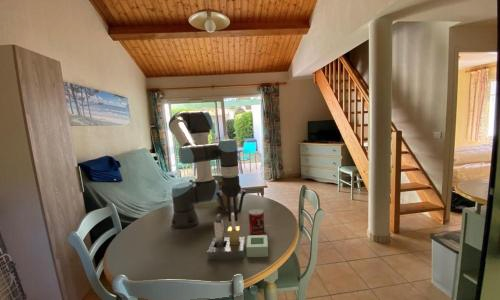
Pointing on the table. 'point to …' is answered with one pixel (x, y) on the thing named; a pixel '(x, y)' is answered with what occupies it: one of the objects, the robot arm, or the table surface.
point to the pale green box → (257, 246)
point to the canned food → (256, 221)
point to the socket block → (226, 250)
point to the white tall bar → (219, 231)
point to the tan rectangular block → (234, 236)
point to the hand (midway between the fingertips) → (233, 228)
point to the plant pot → (222, 194)
